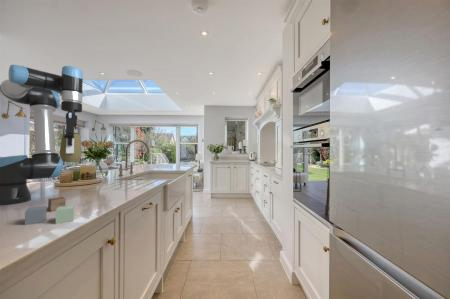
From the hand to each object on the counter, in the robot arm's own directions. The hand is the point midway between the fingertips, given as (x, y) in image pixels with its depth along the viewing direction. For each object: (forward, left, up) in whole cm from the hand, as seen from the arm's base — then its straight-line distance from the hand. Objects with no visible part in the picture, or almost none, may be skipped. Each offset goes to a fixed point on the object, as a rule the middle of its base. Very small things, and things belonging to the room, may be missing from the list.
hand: (71, 153), depth 92 cm
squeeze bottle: (0, 0, -4) cm, 4 cm away
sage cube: (+17, 0, -25) cm, 30 cm away
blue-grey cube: (+13, -9, -25) cm, 30 cm away
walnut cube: (-3, -5, -25) cm, 26 cm away
